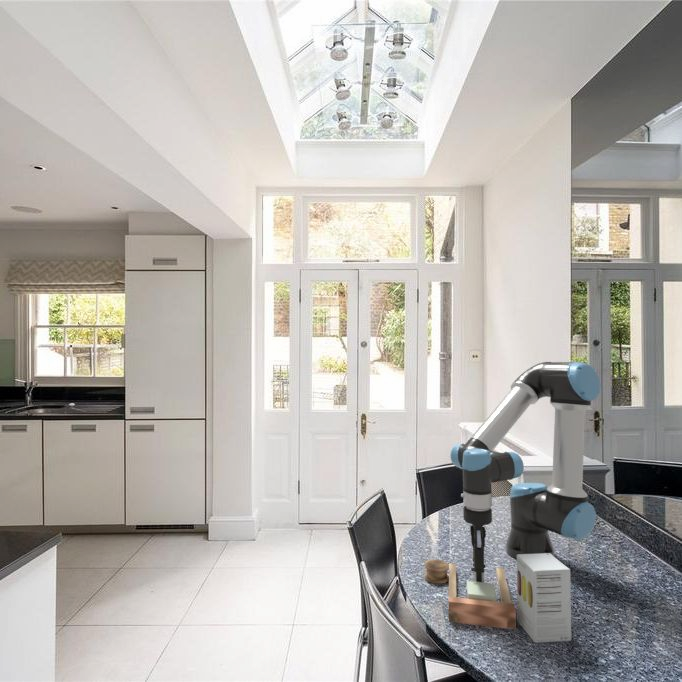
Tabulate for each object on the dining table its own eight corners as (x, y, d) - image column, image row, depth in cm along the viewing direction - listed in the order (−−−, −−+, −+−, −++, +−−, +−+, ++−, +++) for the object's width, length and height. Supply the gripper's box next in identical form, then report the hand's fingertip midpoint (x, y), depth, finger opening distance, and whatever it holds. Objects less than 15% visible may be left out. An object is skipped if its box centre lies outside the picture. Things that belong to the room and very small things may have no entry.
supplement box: (516, 620, 119) (515, 553, 119) (551, 618, 119) (549, 551, 120) (535, 643, 109) (533, 570, 110) (572, 641, 110) (571, 568, 110)
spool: (448, 573, 144) (448, 560, 144) (449, 585, 137) (448, 571, 137) (424, 571, 146) (424, 558, 146) (424, 582, 139) (423, 568, 139)
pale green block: (494, 606, 126) (493, 583, 126) (496, 620, 119) (496, 596, 119) (467, 603, 127) (466, 580, 127) (468, 617, 120) (467, 593, 120)
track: (503, 576, 142) (503, 559, 142) (515, 629, 115) (515, 608, 115) (449, 571, 146) (448, 555, 146) (448, 621, 118) (448, 601, 119)
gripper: (462, 498, 136) (464, 581, 136) (463, 513, 124) (465, 604, 123) (489, 500, 134) (491, 583, 134) (493, 515, 122) (495, 607, 121)
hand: (478, 593), depth 128 cm, fingers closed
